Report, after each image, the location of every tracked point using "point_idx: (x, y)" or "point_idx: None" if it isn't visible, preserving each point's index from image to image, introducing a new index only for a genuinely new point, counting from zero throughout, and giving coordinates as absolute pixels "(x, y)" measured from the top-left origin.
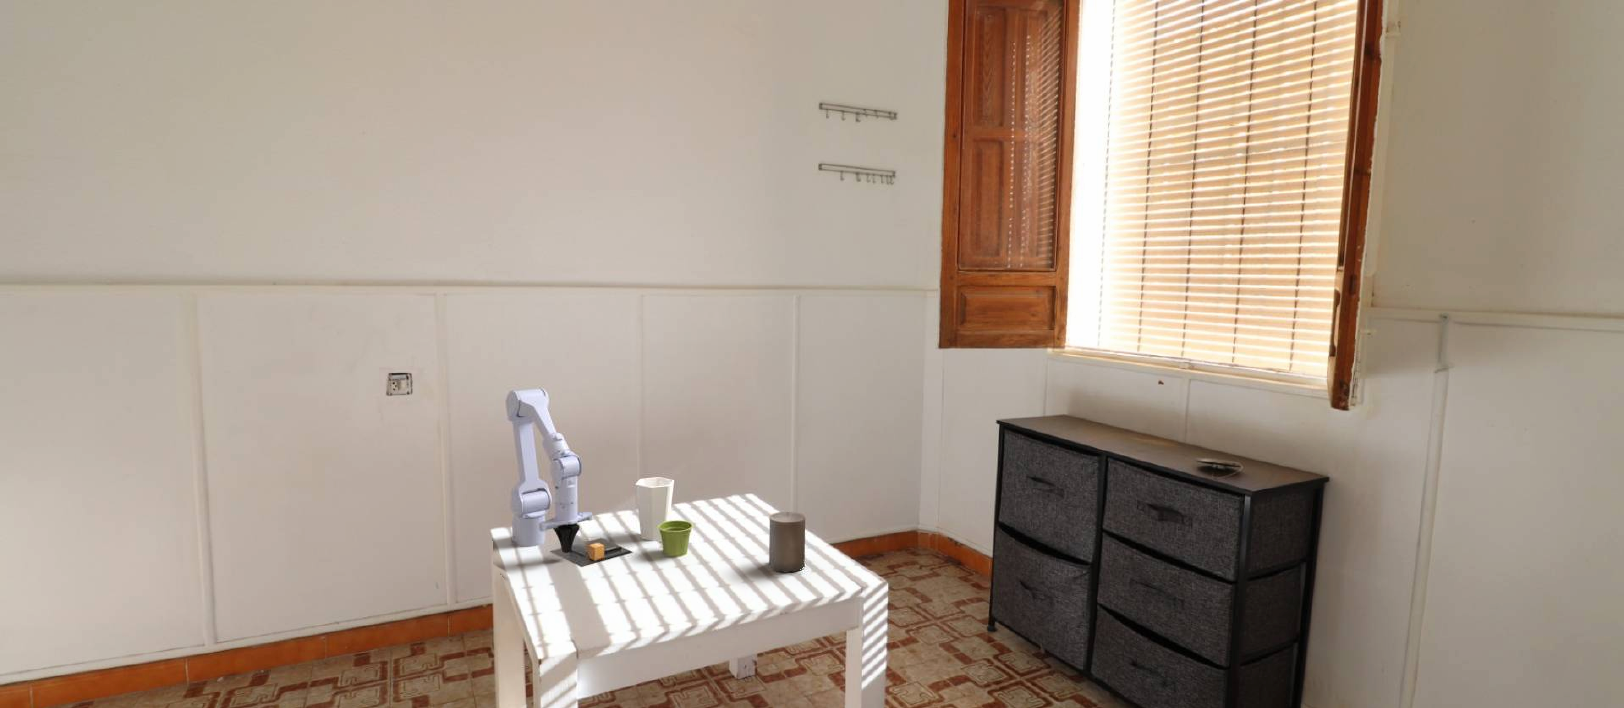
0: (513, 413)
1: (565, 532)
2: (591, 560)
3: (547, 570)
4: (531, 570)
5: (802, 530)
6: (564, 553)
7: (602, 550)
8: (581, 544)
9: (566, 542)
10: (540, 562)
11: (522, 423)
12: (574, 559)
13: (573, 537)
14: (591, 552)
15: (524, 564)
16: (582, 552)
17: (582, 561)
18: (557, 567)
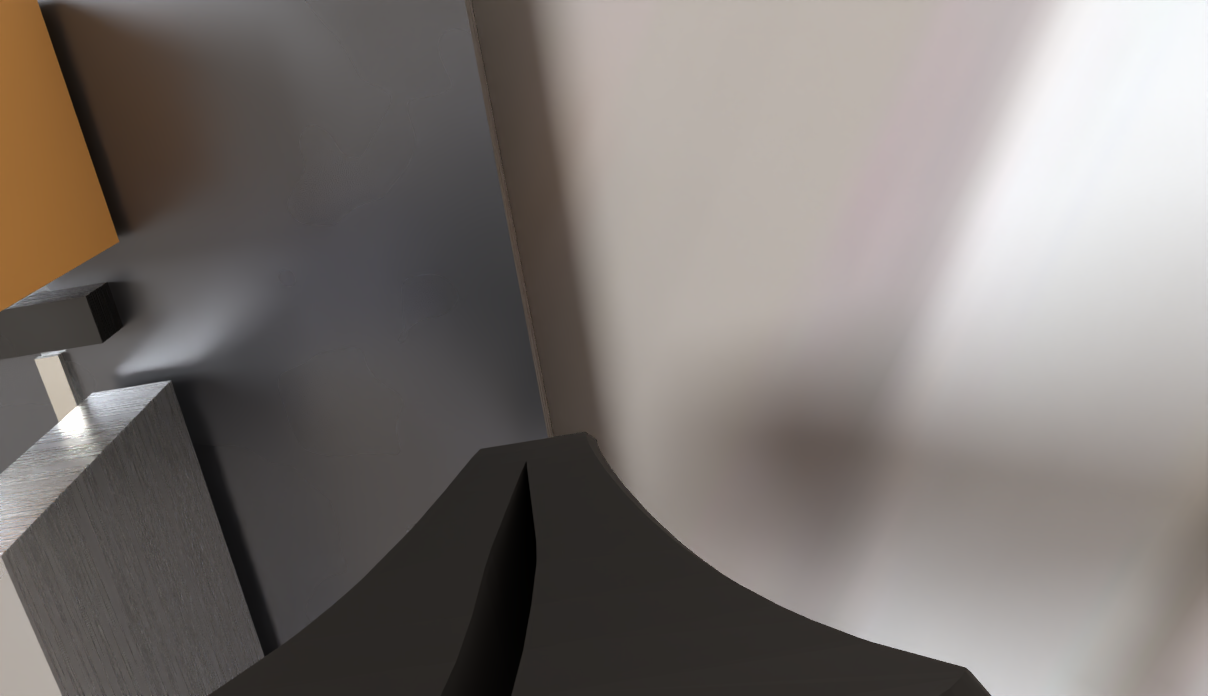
0: None
1: (838, 685)
2: (105, 97)
3: (967, 252)
4: (1163, 397)
5: None
6: None
7: None
8: (129, 632)
9: (625, 531)
10: (881, 640)
11: None
12: (415, 351)
13: (352, 626)
14: (4, 178)
15: (1102, 677)
16: (186, 491)
17: (305, 150)
18: (763, 294)
